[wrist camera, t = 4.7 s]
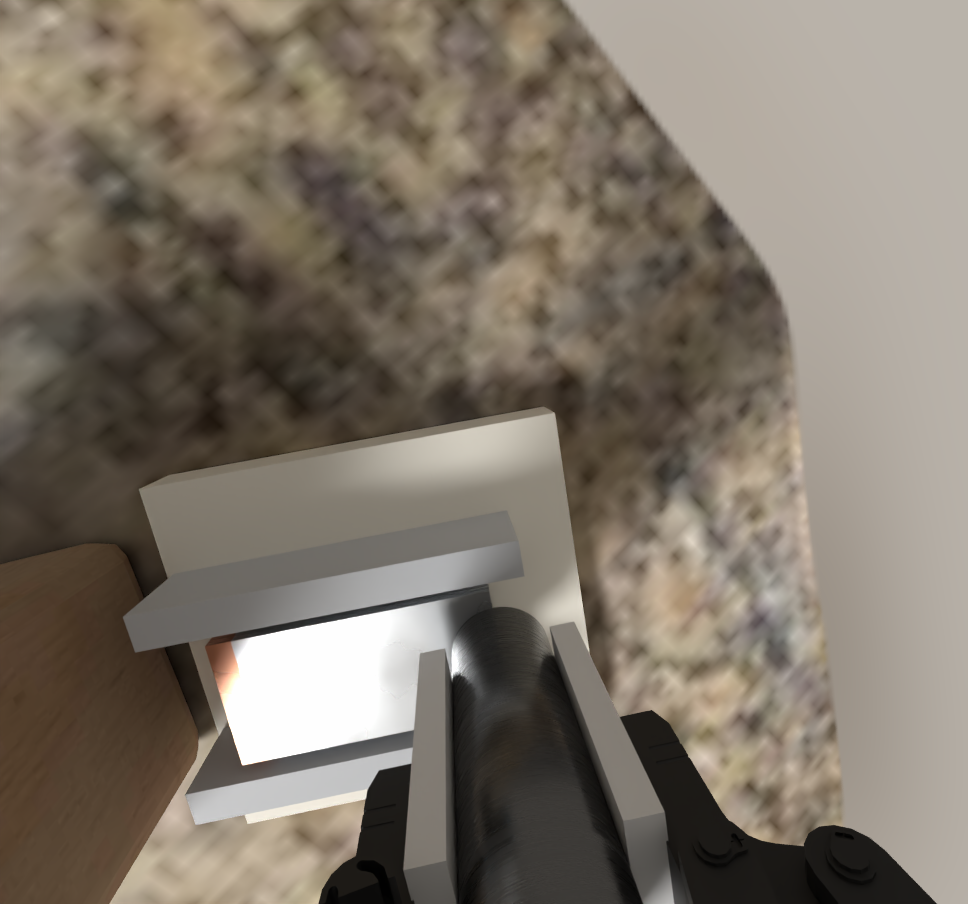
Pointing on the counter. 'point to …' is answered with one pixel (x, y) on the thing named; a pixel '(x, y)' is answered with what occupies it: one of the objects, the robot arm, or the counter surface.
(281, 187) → the counter surface
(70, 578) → the wooden block
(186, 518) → the base
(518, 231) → the counter surface
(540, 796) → the ram handle
